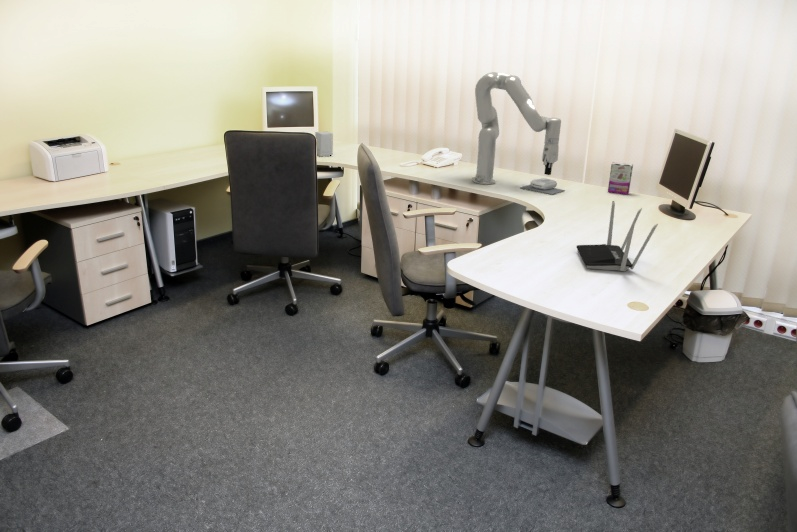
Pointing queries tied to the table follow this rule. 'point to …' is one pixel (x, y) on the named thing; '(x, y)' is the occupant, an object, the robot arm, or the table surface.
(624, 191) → the candy bar box
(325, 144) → the supplement box
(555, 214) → the table surface
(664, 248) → the table surface
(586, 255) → the wireless router
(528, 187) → the mat
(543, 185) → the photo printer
